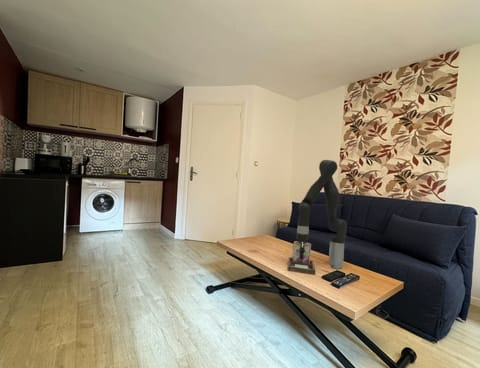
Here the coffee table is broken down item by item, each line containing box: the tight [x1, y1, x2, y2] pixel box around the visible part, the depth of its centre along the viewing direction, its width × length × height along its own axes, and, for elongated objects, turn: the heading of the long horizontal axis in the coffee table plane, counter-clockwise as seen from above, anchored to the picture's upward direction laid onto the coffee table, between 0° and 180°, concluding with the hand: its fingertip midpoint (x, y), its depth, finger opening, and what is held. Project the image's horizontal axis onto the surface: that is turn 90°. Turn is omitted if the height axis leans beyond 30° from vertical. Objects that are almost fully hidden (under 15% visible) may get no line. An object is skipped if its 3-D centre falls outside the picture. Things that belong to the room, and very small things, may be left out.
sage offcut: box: [294, 264, 309, 269], centre depth 145 cm, size 6×8×2 cm
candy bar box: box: [291, 240, 312, 264], centre depth 154 cm, size 11×5×16 cm, turn 65°
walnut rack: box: [287, 257, 316, 276], centre depth 149 cm, size 19×16×4 cm
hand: (301, 257), depth 154 cm, fingers closed on candy bar box, 5 cm apart
